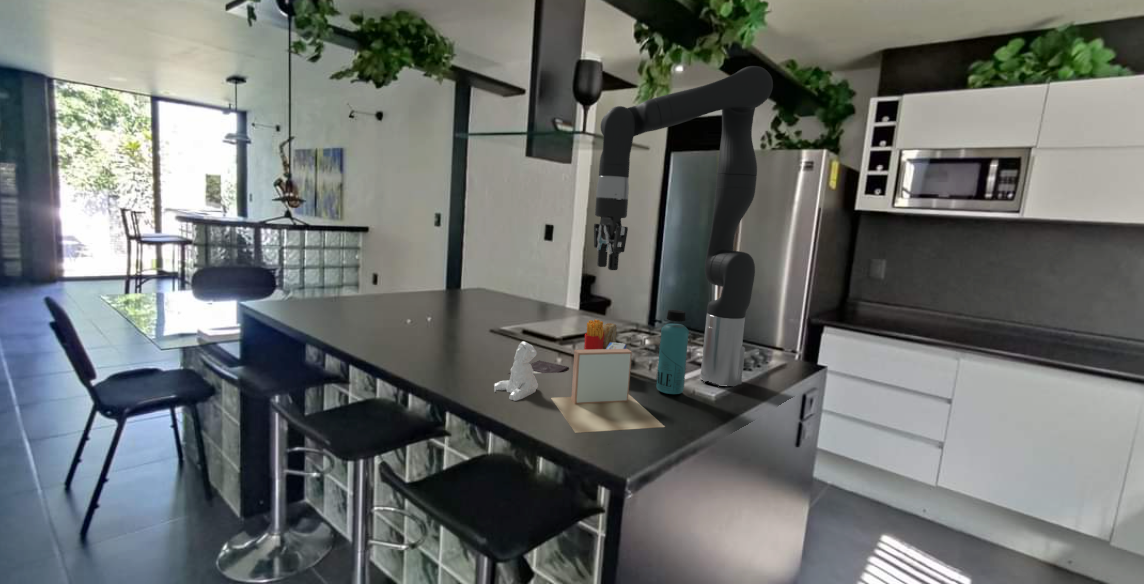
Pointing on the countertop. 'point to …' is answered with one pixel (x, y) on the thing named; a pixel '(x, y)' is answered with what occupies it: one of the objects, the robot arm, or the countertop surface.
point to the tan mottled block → (609, 334)
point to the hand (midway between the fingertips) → (607, 268)
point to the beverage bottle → (672, 355)
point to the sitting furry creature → (520, 374)
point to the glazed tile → (601, 375)
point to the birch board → (606, 415)
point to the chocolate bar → (547, 367)
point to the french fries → (594, 335)
